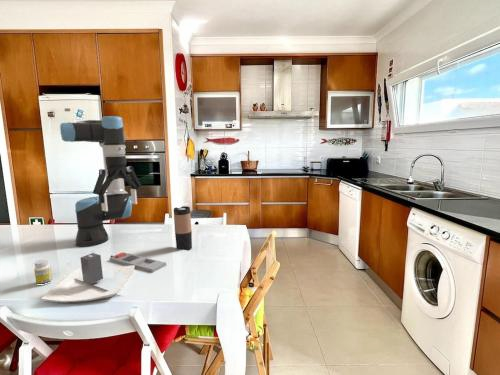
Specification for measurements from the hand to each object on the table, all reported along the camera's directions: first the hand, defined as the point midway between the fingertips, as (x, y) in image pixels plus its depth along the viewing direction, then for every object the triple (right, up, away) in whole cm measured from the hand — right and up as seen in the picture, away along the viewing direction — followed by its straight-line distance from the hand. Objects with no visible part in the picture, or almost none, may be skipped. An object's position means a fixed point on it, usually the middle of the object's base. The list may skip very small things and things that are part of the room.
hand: (120, 207), depth 117 cm
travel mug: (+22, -21, +18) cm, 36 cm away
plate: (-2, -28, -16) cm, 32 cm away
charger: (-2, -25, -16) cm, 30 cm away
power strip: (+5, -24, +2) cm, 25 cm away
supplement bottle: (-22, -27, -13) cm, 38 cm away
